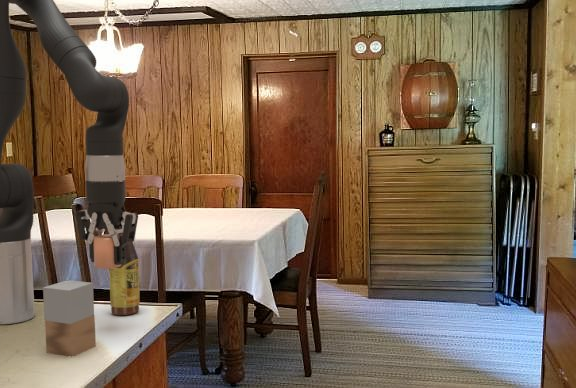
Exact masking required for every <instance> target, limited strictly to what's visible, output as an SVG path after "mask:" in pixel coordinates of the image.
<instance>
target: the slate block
mask: <svg viewBox="0 0 576 388" xmlns="http://www.w3.org/2000/svg"><path fill="white" fill-rule="evenodd" d="M42 293H43V312H44V313H43V314H44V321H45V320H46V321H53V322H59V323H66V324H72V323H75V322H77V321H80V320H82V319H85V318H87V317H90V316H93V315H95V303H94V302H95V301H94V282H86V281H79V280H78V281H77V280H72V279H71V280H70V279H68V280H64V281H61V282H57V283H54V284H50V285H47V286H44V287H42Z"/></svg>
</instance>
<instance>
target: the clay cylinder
mask: <svg viewBox="0 0 576 388" xmlns="http://www.w3.org/2000/svg"><path fill="white" fill-rule="evenodd" d="M118 236H119V235H118ZM119 239H120V237H119ZM114 246H115V244H114V241H113V238H112V236H110V234H109V233H107V234H106V233H105V234H102V235H97V236H94V262H93V265H94V266H93V268H95V269H101V270H103V269H104V270H105V269H107V270H108V269H109V270H110V268H117V267H120V266H121V264H120V265H115V264H114Z"/></svg>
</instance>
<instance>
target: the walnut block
mask: <svg viewBox="0 0 576 388" xmlns="http://www.w3.org/2000/svg"><path fill="white" fill-rule="evenodd" d="M95 316H96V314H94V315H93V316H90V317H87V318H85V319H82V320H80V321H77V322H75V323H72V324H66V323H59V322H53V321H46V320H45V319H44V324H45V325H44V330H45V332H44V333H45V349H46V351H45V352H46V353H47V354H52V355H59V356H62V355H63V356H64V357H68V356H71V357H70V358H73V357H72V356H74V357H76V356H78V355H80V354H82V353H84V352H87V351H89V350H91V349H93V348H95V347H96V346H97V343H96V340H97V339H96V323H95V322H96V321H95V320H96V319H95V318H96V317H95ZM77 354H78V355H77ZM75 355H76V356H75Z"/></svg>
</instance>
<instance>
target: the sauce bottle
mask: <svg viewBox="0 0 576 388" xmlns="http://www.w3.org/2000/svg"><path fill="white" fill-rule="evenodd" d="M123 225H124V222H123ZM115 230H118V228H116V229H115ZM125 249H126V259H125V261H124V263H123V264H121V266H120V267H117V268H110V269H109V293H110V294H109V297H110V301H109V302H110V308H111V309H110V311H111V312H110V313H112V315H114V316H127V315H133V314H136V313H138V312H139V309H140V302H141V301H140V266H139V265H140V259H139V255H138V253H137V250H136V247H135V245H134V242H130V243H128V244H126V246H125Z"/></svg>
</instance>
